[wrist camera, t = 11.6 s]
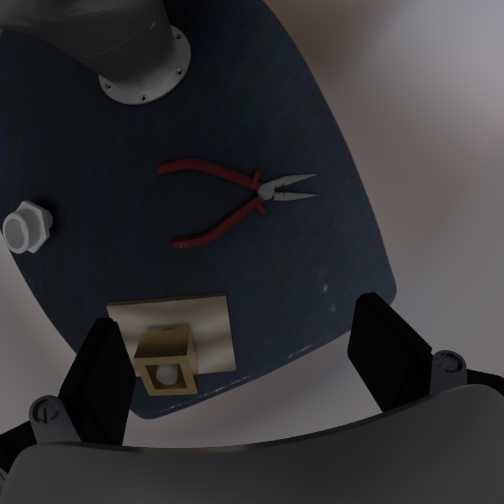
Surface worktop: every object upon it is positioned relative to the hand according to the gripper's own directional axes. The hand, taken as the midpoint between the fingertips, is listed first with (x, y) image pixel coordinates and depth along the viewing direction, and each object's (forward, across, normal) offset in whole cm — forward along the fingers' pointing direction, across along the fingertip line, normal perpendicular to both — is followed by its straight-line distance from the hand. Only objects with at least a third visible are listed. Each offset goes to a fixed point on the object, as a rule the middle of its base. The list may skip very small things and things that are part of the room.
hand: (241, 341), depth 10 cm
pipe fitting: (+28, +26, -1) cm, 38 cm away
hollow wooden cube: (+24, +9, +19) cm, 32 cm away
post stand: (+27, +9, +20) cm, 34 cm away
